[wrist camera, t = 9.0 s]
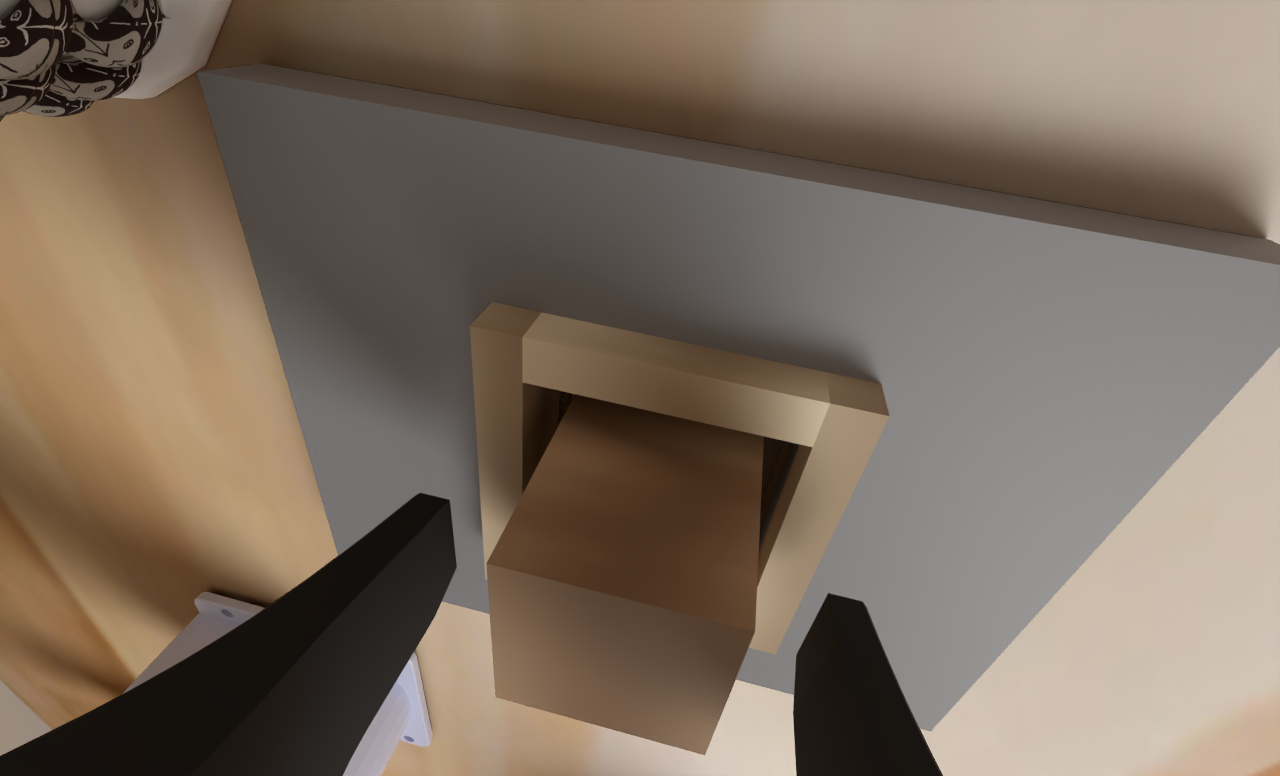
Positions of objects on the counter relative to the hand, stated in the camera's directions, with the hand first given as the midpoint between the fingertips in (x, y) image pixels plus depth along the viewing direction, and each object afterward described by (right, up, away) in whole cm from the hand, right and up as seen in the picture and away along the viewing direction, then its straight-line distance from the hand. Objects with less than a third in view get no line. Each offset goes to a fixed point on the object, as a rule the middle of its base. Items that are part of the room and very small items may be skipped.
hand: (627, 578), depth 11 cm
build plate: (+1, +2, +3) cm, 4 cm away
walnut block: (+1, +2, +3) cm, 4 cm away
